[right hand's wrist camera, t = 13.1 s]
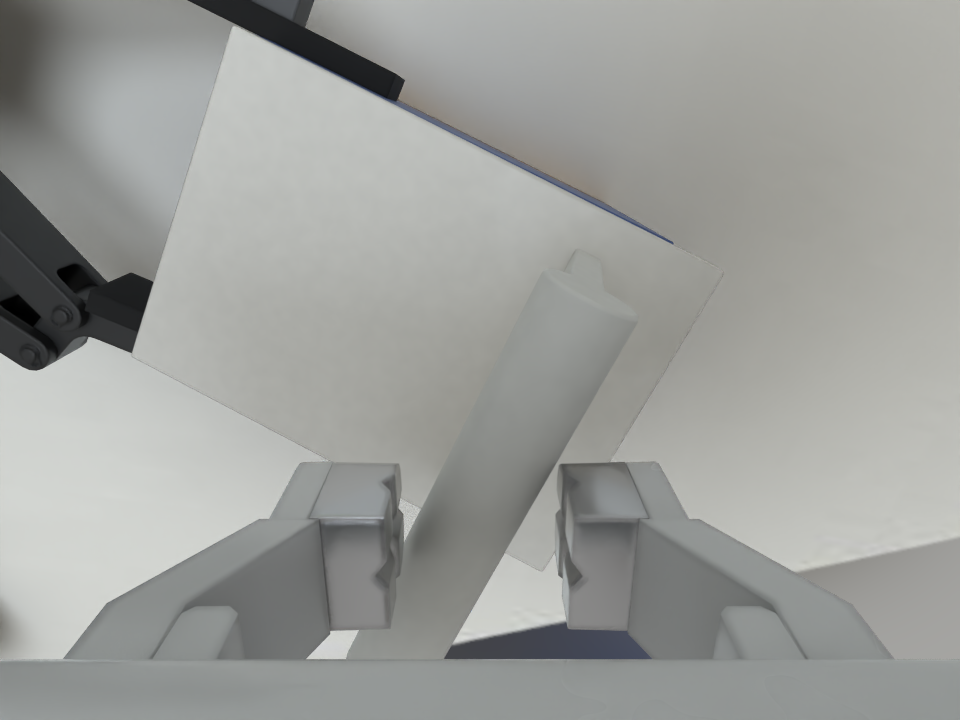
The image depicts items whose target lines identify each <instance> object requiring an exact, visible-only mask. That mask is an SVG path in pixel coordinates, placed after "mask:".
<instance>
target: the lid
mask: <svg viewBox="0 0 960 720" xmlns="http://www.w3.org/2000/svg"><path fill="white" fill-rule="evenodd" d="M723 274H724V272H723V271H722V270H721V269H720V268H718V267H716V266H715V265H713V264H711V263H709V262H707V261H705V260H703V259H701V258H699V257H697V256H695V255H693V254H691V253H689V252H687V251H685V250H683V249H681V248H679V247H677V246H675V245H673V244H671V243H669V242H667V241H665V240H663V239H661V238H659V237H657V236H655V235H653V234H651V233H649V232H647V231H645V230H643V229H641V228H639V227H637V226H635V225H633V224H631V223H629V222H627V221H625V220H623V219H621V218H619V217H617V216H615V215H613V214H611V213H609V212H607V211H605V210H603V209H601V208H599V207H597V206H595V205H593V204H591V203H589V202H587V201H585V200H583V199H581V198H579V197H577V196H575V195H573V194H571V193H569V192H567V191H565V190H563V189H561V188H559V187H557V186H556V185H554V184H552V183H550V182H548V181H546V180H544V179H542V178H540V177H538V176H536V175H534V174H532V173H530V172H528V171H526V170H524V169H522V168H520V167H518V166H516V165H514V164H512V163H510V162H508V161H506V160H504V159H502V158H500V157H498V156H496V155H494V154H492V153H490V152H488V151H486V150H484V149H482V148H480V147H478V146H476V145H474V144H472V143H470V142H468V141H466V140H464V139H462V138H460V137H458V136H456V135H454V134H452V133H450V132H448V131H446V130H444V129H442V128H440V127H438V126H436V125H434V124H432V123H430V122H428V121H426V120H424V119H422V118H420V117H418V116H416V115H414V114H412V113H410V112H408V111H406V110H404V109H402V108H400V107H398V106H396V105H394V104H392V103H390V102H388V101H386V100H384V99H382V98H380V97H378V96H376V95H374V94H372V93H370V92H368V91H367V90H365V89H363V88H361V87H359V86H357V85H355V84H353V83H351V82H349V81H347V80H345V79H343V78H341V77H339V76H337V75H335V74H333V73H331V72H329V71H327V70H325V69H323V68H321V67H319V66H317V65H315V64H313V63H311V62H309V61H307V60H305V59H303V58H301V57H299V56H297V55H295V54H293V53H291V52H289V51H287V50H285V49H283V48H281V47H279V46H277V45H275V44H273V43H271V42H269V41H267V40H265V39H263V38H261V37H259V36H257V35H255V34H253V33H251V32H249V31H246V30H244V29H242V28H240V27H238V26H233V27H232V28H231V31H230V35H229V38H228V41H227V44H226V48H225V51H224V54H223V57H222V61H221V64H220V67H219V71H218V74H217V77H216V80H215V84H214V87H213V90H212V93H211V97H210V100H209V103H208V106H207V110H206V113H205V116H204V119H203V123H202V126H201V129H200V132H199V136H198V139H197V142H196V146H195V149H194V152H193V155H192V159H191V162H190V165H189V168H188V172H187V175H186V178H185V181H184V185H183V188H182V191H181V194H180V198H179V201H178V204H177V208H176V211H175V214H174V217H173V221H172V224H171V227H170V230H169V234H168V237H167V240H166V243H165V247H164V250H163V253H162V256H161V260H160V263H159V266H158V269H157V273H156V276H155V279H154V283H153V286H152V289H151V292H150V296H149V299H148V302H147V305H146V309H145V312H144V315H143V318H142V322H141V325H140V328H139V331H138V335H137V338H136V341H135V345H134V348H133V351H132V354H131V355H132V357H133V358H135V359H137V360H139V361H141V362H143V363H145V364H147V365H148V366H150V367H152V368H154V369H156V370H158V371H160V372H162V373H164V374H166V375H167V376H169V377H171V378H173V379H175V380H177V381H179V382H181V383H183V384H185V385H187V386H188V387H190V388H192V389H194V390H196V391H198V392H200V393H202V394H204V395H206V396H207V397H209V398H211V399H213V400H215V401H217V402H219V403H221V404H223V405H225V406H227V407H228V408H230V409H232V410H234V411H236V412H238V413H240V414H242V415H244V416H246V417H247V418H249V419H251V420H253V421H255V422H257V423H259V424H261V425H263V426H265V427H267V428H268V429H270V430H272V431H274V432H276V433H278V434H280V435H282V436H284V437H286V438H287V439H289V440H291V441H293V442H295V443H297V444H299V445H301V446H303V447H305V448H307V449H308V450H310V451H312V452H314V453H316V454H318V455H320V456H322V457H324V458H326V459H327V460H329V461H331V462H334V463H336V462H350V463H399V465H400V470H401V482H402V492H401V497H400V498H402V499H404V500H406V501H407V502H409V503H411V504H413V505H415V506H417V507H419V508H421V510H420V512H419V514H418V516H417V518H416V520H415V522H414V524H413V526H412V528H411V530H410V532H409V534H408V536H407V538H406V540H405V542H404V546H403V559H402V567H401V573H400V576H399V577H397V578H396V601H395V606H394V612H393V617H392V623H391V628H390V629H371V630H359V632H358V633H357V635H356V637H355V639H354V641H353V643H352V645H351V647H350V649H349V651H348V654H347V657H346V659H444V657H445V655H446V654H447V652H448V650H449V648H450V647H451V645H452V643H453V641H454V640H455V638H456V636H457V635H458V633H459V631H460V629H461V628H462V626H463V624H464V622H465V621H466V619H467V617H468V616H469V614H470V612H471V610H472V609H473V607H474V605H475V603H476V602H477V600H478V598H479V596H480V595H481V593H482V591H483V590H484V588H485V586H486V584H487V583H488V581H489V579H490V577H491V576H492V574H493V572H494V570H495V569H496V567H497V565H498V564H499V562H500V560H501V558H502V557H503V555H504V553H507V554H508V555H510V556H512V557H514V558H516V559H518V560H520V561H522V562H524V563H526V564H527V565H529V566H531V567H533V568H535V569H537V570H539V571H543V570H544V569H545V568H546V566H547V564H548V563H549V561H550V559H551V558H552V556H553V554H554V553H555V514H556V513H557V512H558V510H559V509H560V504H559V499H558V494H557V474H558V466H559V465H560V464H569V463H609V462H610V461H611V459H612V457H613V456H614V454H615V452H616V451H617V449H618V448H619V446H620V444H621V443H622V441H623V439H624V438H625V436H626V434H627V433H628V431H629V429H630V428H631V426H632V425H633V423H634V421H635V420H636V418H637V416H638V415H639V413H640V411H641V410H642V408H643V406H644V405H645V403H646V402H647V400H648V398H649V397H650V395H651V393H652V392H653V390H654V388H655V387H656V385H657V383H658V382H659V380H660V379H661V377H662V375H663V374H664V372H665V370H666V369H667V367H668V365H669V364H670V362H671V360H672V359H673V357H674V356H675V354H676V352H677V351H678V349H679V347H680V346H681V344H682V342H683V341H684V339H685V337H686V336H687V334H688V333H689V331H690V329H691V328H692V326H693V324H694V323H695V321H696V319H697V318H698V316H699V314H700V313H701V311H702V310H703V308H704V306H705V305H706V303H707V301H708V300H709V298H710V296H711V295H712V293H713V291H714V290H715V288H716V287H717V285H718V283H719V282H720V280H721V278H722V277H723Z"/></svg>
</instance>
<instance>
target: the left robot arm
mask: <svg viewBox="0 0 960 720" xmlns="http://www.w3.org/2000/svg"><path fill="white" fill-rule="evenodd" d="M188 1H190V2H192V3H194V4H196V5H198V6H200V7H202V8H204V9H206V10H208V11H210V12H212V13H214V14H216V15H218V16H220V17H222V18H224V19H226V20H228V21H230V22H232V23H235V24H237V25H239V26H241V27H243V28H245V29H247V30H249V31H251V32H253V33H255V34H257V35H259V36H261V37H263V38H265V39H268V40H270V41H272V42H274V43H276V44H278V45H280V46H282V47H285V48H287V49H289V50H291V51H293V52H295V53H297V54H299V55H301V56H303V57H305V58H307V59H309V60H311V61H313V62H315V63H317V64H319V65H321V66H323V67H325V68H327V69H329V70H331V71H333V72H335V73H337V74H339V75H341V76H343V77H345V78H347V79H349V80H351V81H353V82H355V83H357V84H359V85H361V86H363V87H365V88H367V89H369V90H371V91H373V92H375V93H377V94H379V95H381V96H383V97H385V98H387V99H390V100H393V101H396V102H397V99H398V97H399V94H400V92H401V89H402V87H403V84H404V82H405V80H404V79H402V78H401V77H400V76H398V75H397V74H395V73H393V72H391V71H389V70H387V69H385V68H383V67H381V66H379V65H377V64H375V63H373V62H371V61H369V60H367V59H365V58H363V57H361V56H359V55H357V54H355V53H354V52H352V51H350V50H348V49H346V48H344V47H342V46H340V45H338V44H336V43H334V42H332V41H330V40H328V39H326V38H324V37H322V36H320V35H318V34H316V33H314V32H312V31H310V30H308V29H306V28H305V26H306V23H307V20H308V17H309V14H310V11H311V8H312V5H313V2H314V0H188ZM153 283H154V282H152V281H150V280H148V279H145V278H143V277H140V276H138V275H136V274H133V273H129V274H127V275H124V276H122V277H120V278H117V279H115V280H113V281H110V282H107V281H106V280H105V279H104V278H103V277H102V276H101V275H100V274H99V273H98V272H97V271H96V270H95V269H94V268H93V267H92V266H91V264H90V263H89V262H88V261H87V260H86V259H85V258H84V257H83V256H82V255H81V254H80V253H79V252H78V251H77V250H76V249H75V248H74V247H73V246H72V245H71V244H70V243H69V242H68V241H67V240H66V238H65V237H64V236H63V235H62V234H61V233H60V232H59V231H58V230H57V229H56V228H55V227H54V226H53V225H52V224H51V223H50V222H49V221H48V220H47V219H46V218H45V217H44V216H43V215H42V214H41V212H40V211H39V210H38V209H37V208H36V207H35V206H34V205H33V204H32V203H31V202H30V201H29V200H28V199H27V198H26V197H25V196H24V195H23V194H22V193H21V192H20V191H19V190H18V189H17V188H16V186H15V185H14V184H13V183H12V182H11V181H10V180H9V179H8V178H7V177H6V176H5V175H4V174H3V173H2V172H1V171H0V353H2V354H3V355H5V356H6V357H8V358H9V359H11V360H13V361H14V362H16V363H17V364H19V365H20V366H22V367H24V368H26V369H29V370H40V369H43V368H45V367H46V366H48V365H50V364H52V363H53V362H55V361H57V360H59V359H60V358H62V357H64V356H66V355H67V354H69V353H71V352H73V351H75V350H76V349H78V348H80V347H82V346H83V345H84V344H85V343H86V342H87V339H88V337H92V338H95V339H98V340H100V341H103V342H105V343H108V344H110V345H113V346H115V347H118V348H120V349H123V350H125V351H128V352H130V353H132V351H133V348H134V345H135V341H136V338H137V335H138V331H139V328H140V325H141V322H142V318H143V315H144V312H145V309H146V305H147V302H148V299H149V296H150V292H151V289H152V286H153Z"/></svg>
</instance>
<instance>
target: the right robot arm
mask: <svg viewBox="0 0 960 720" xmlns="http://www.w3.org/2000/svg"><path fill="white" fill-rule="evenodd" d="M401 492H402V482H401V470H400V465H399V463H350V462H336V463H334V462H303V463H300V464H299V465H298V466H297V468H296V470H295V472H294V474H293V476H292V478H291V479H290V481H289V483H288V485H287V487H286V489H285V491H284V492H283V494H282V496H281V498H280V500H279V502H278V503H277V505H276V507H275V509H274V511H273V513H272V515H271V516H270V518H269V519H259V520H257V521H255V522H253V523H251V524H250V525H248V526H246V527H244V528H242V529H240V530H239V531H237V532H235V533H233V534H231V535H230V536H228V537H226V538H224V539H222V540H221V541H219V542H217V543H215V544H213V545H212V546H210V547H208V548H206V549H204V550H202V551H201V552H199V553H197V554H195V555H193V556H192V557H190V558H188V559H186V560H184V561H183V562H181V563H179V564H177V565H175V566H174V567H172V568H170V569H168V570H166V571H164V572H163V573H161V574H159V575H157V576H155V577H154V578H152V579H150V580H148V581H146V582H145V583H143V584H141V585H139V586H137V587H136V588H134V589H132V590H130V591H128V592H126V593H125V594H123V595H121V596H119V597H117V598H116V599H114V600H112V601H110V602H108V603H107V604H106V605H105V606H104V607H103V609H102V610H101V611H100V613H99V614H98V615H97V616H96V618H95V619H94V620H93V621H92V623H91V624H90V625H89V627H88V628H87V629H86V630H85V632H84V633H83V634H82V635H81V637H80V638H79V639H78V641H77V642H76V643H75V644H74V646H73V647H72V648H71V649H70V651H69V652H68V653H67V655H66V656H65V657H64V658H63V659H0V720H960V659H894V658H893V656H892V655H891V654H890V653H889V651H888V650H887V649H886V647H885V646H884V645H883V644H882V642H881V641H880V640H879V638H878V637H877V636H876V635H875V633H874V632H873V631H872V629H871V628H870V627H869V626H868V624H867V623H866V622H865V620H864V619H863V618H862V616H861V615H860V614H859V612H858V611H857V610H856V609H855V607H854V606H853V605H852V604H851V603H849V602H847V601H845V600H843V599H842V598H840V597H838V596H836V595H834V594H833V593H831V592H829V591H827V590H825V589H824V588H822V587H820V586H818V585H816V584H815V583H813V582H811V581H809V580H807V579H806V578H804V577H802V576H800V575H798V574H797V573H795V572H793V571H791V570H789V569H788V568H786V567H784V566H782V565H780V564H779V563H777V562H775V561H773V560H771V559H770V558H768V557H766V556H764V555H763V554H761V553H759V552H757V551H755V550H754V549H752V548H750V547H748V546H746V545H745V544H743V543H741V542H739V541H737V540H736V539H734V538H732V537H730V536H728V535H727V534H725V533H723V532H721V531H719V530H718V529H716V528H714V527H712V526H710V525H709V524H707V523H705V522H703V521H701V520H700V519H689V518H688V516H687V514H686V512H685V511H684V509H683V507H682V505H681V503H680V501H679V500H678V498H677V496H676V494H675V492H674V490H673V488H672V487H671V485H670V483H669V481H668V479H667V477H666V476H665V474H664V472H663V470H662V468H661V466H660V465H659V463H657V462H655V461H652V462H630V463H625V462H611V463H569V464H560V465H559V466H558V474H557V494H558V499H559V504H560V509H559V510H558V512H557V513H556V514H555V554H556V563H557V570H558V575H559V576H560V577H561V578H562V579H563V584H562V599H563V604H564V610H565V615H566V620H567V626H568V629H586V630H623V631H628V634H629V635H630V636H631V637H632V638H633V639H634V640H635V641H636V642H637V643H638V644H639V645H640V646H641V647H642V648H643V649H644V650H645V651H646V652H647V653H648V654H649V655H650V656H651V658H652V659H306V658H307V657H308V656H309V655H310V654H311V653H312V652H313V651H314V650H315V649H316V648H317V647H318V646H319V645H320V644H321V643H322V642H323V641H324V640H325V639H326V638H327V637H328V636H329V635H330V631H336V630H371V629H390V628H391V623H392V617H393V612H394V606H395V601H396V578H397V577H399V576H400V573H401V567H402V559H403V546H404V522H403V513H402V512H401V511H400V510H399V509H398V507H399V502H400V497H401Z"/></svg>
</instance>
